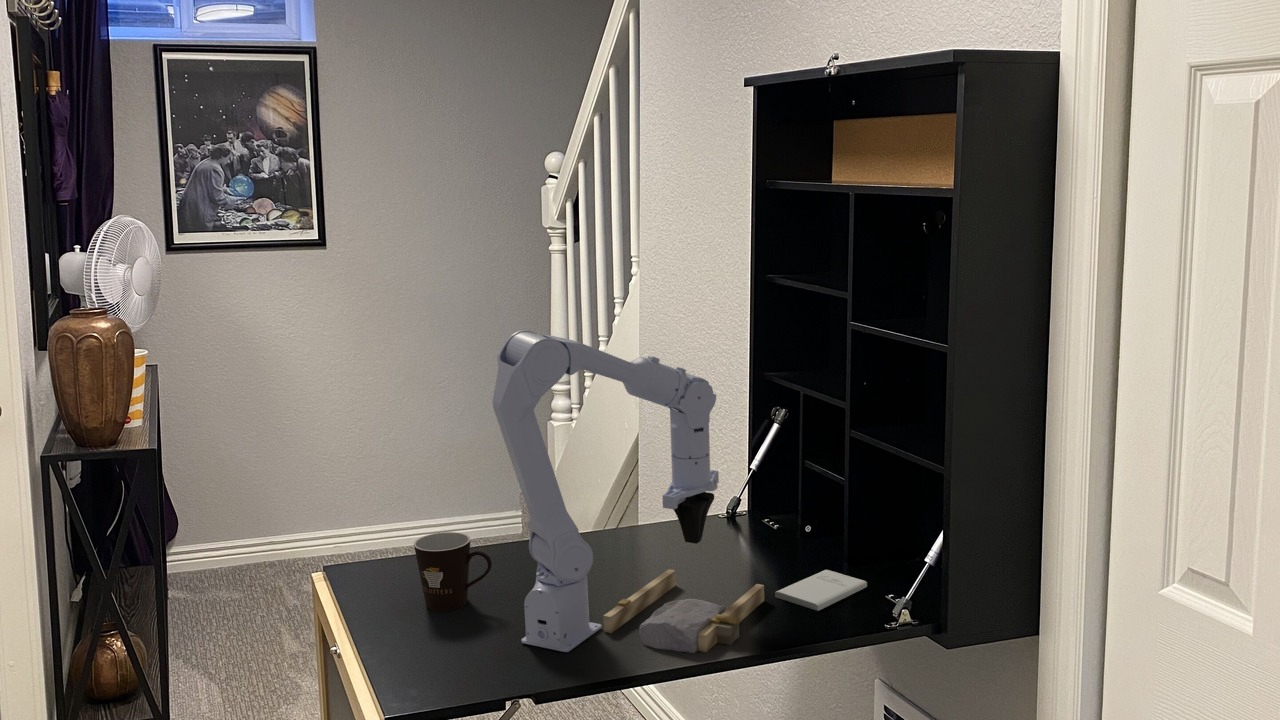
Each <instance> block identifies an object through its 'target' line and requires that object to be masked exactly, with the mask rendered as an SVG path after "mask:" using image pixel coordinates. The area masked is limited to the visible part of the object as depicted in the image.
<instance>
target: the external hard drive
mask: <svg viewBox="0 0 1280 720" xmlns="http://www.w3.org/2000/svg"><path fill="white" fill-rule="evenodd" d="M867 587H868V582H867V581H866V580H863V579H860V578H856V577H852V576H850V575H845V574H843V573H839V572H838V571H837V572H836V571H832V570H830V569H824V570H822V571H820V572H818V573H815V574H813V575H811V576H809V577H806V578H804V579H801V580H798V581H797V582H794V583H792V584H790V585H788V586H786V587H784V588H781V589H779V590H777V591H775V592H774V594H775V595H774V596H775V598H777V599H780V600H783V601H787V602H789V603H793V604H795V605H799V606H802V607H804V608H807V609H811V610H814V611H817V612H819V611H821V610H823V609H825V608H827V607H829V606H831V605H833V604H835V603H837V602H840V601H842V600H843V599H847V598H848V597H850V596H851V595H854V594H855V593H857V592H860V591H862V590H864V589H866V588H867Z"/></svg>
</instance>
